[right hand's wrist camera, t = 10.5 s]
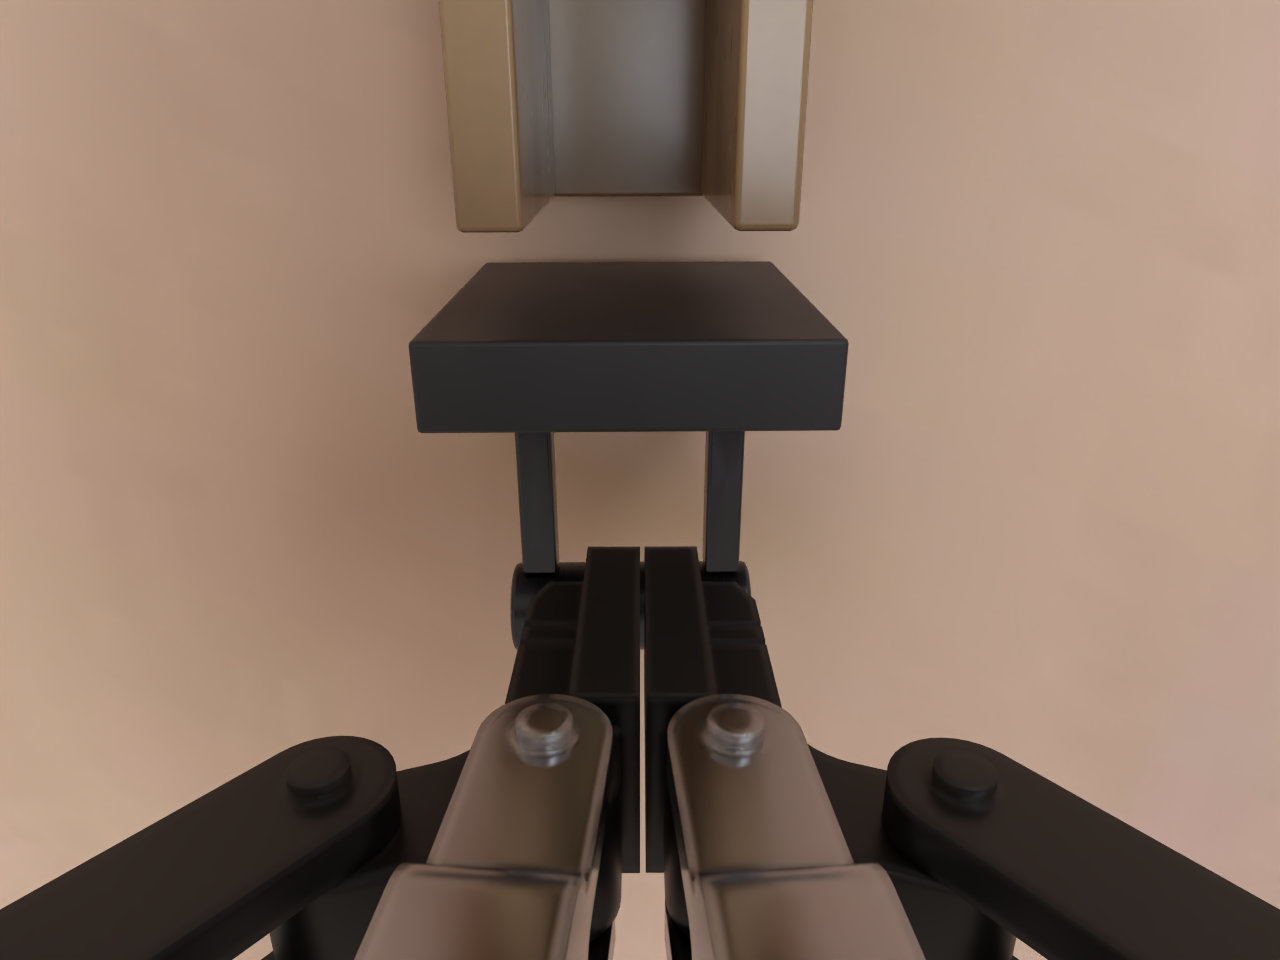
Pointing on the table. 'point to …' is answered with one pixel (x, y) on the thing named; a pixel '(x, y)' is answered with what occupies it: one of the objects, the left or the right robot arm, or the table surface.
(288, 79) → the table surface
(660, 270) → the drawer
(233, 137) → the table surface
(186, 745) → the table surface
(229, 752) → the table surface
